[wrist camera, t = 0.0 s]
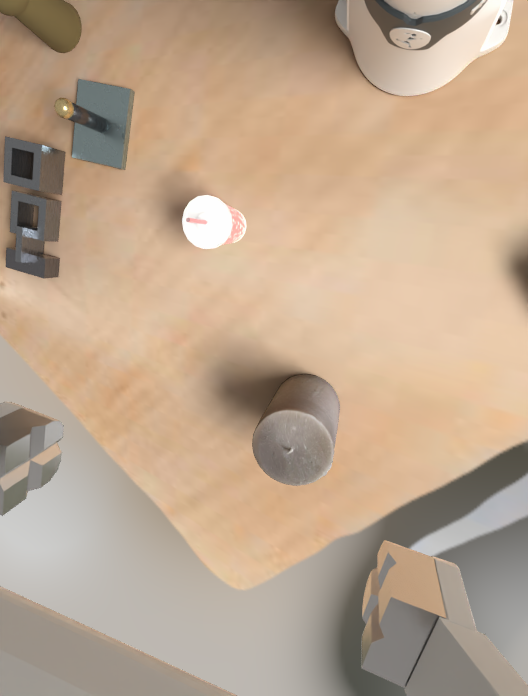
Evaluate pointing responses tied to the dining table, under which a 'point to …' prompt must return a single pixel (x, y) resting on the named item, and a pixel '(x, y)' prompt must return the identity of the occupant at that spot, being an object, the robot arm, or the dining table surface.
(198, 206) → the beverage cup
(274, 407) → the pillar candle
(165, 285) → the dining table surface
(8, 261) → the chain tail
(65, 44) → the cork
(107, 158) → the grey plate with post
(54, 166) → the end link
